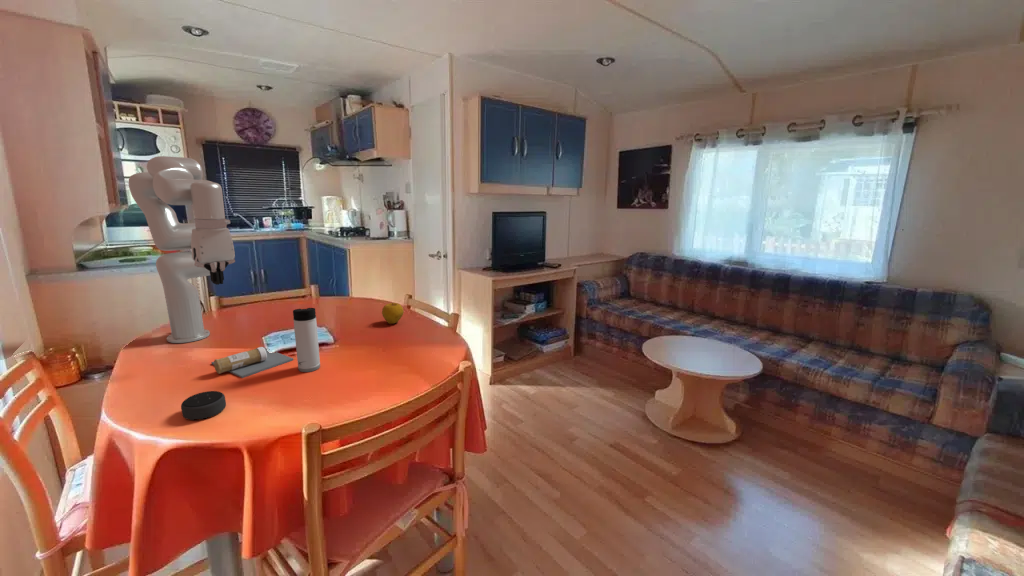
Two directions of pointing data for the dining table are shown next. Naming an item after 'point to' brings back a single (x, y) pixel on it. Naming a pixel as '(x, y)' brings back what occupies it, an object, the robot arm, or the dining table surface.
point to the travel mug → (306, 339)
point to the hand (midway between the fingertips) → (217, 283)
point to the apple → (392, 312)
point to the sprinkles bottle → (240, 360)
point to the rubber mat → (261, 364)
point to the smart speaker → (203, 405)
